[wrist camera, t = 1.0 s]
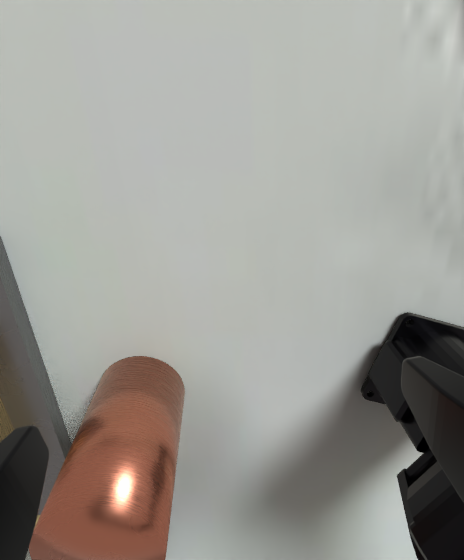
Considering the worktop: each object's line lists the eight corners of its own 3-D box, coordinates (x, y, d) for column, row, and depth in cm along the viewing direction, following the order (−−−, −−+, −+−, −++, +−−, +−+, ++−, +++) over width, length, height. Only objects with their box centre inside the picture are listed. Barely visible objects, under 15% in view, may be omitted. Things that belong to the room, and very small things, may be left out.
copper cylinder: (178, 352, 24) (153, 500, 14) (189, 420, 26) (174, 586, 17) (58, 363, 24) (-43, 519, 14) (79, 430, 26) (3, 602, 17)
